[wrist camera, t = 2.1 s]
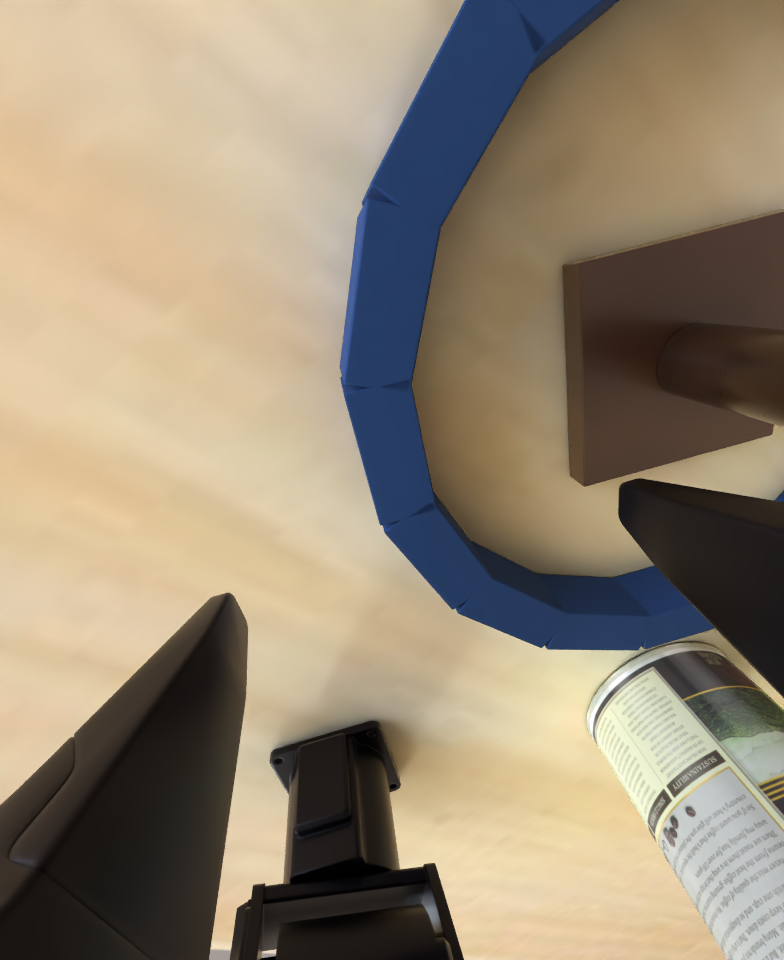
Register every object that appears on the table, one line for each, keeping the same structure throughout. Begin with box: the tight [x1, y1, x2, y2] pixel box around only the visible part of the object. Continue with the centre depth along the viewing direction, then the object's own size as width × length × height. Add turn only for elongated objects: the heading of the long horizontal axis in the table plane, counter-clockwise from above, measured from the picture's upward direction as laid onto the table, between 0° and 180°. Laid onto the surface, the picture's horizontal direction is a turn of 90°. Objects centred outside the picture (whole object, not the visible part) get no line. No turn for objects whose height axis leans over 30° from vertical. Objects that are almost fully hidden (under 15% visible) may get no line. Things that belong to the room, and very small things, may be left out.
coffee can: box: [587, 642, 784, 960], centre depth 21 cm, size 10×10×14 cm
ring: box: [340, 0, 784, 650], centre depth 16 cm, size 27×27×3 cm
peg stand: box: [563, 209, 784, 486], centre depth 14 cm, size 9×9×8 cm
